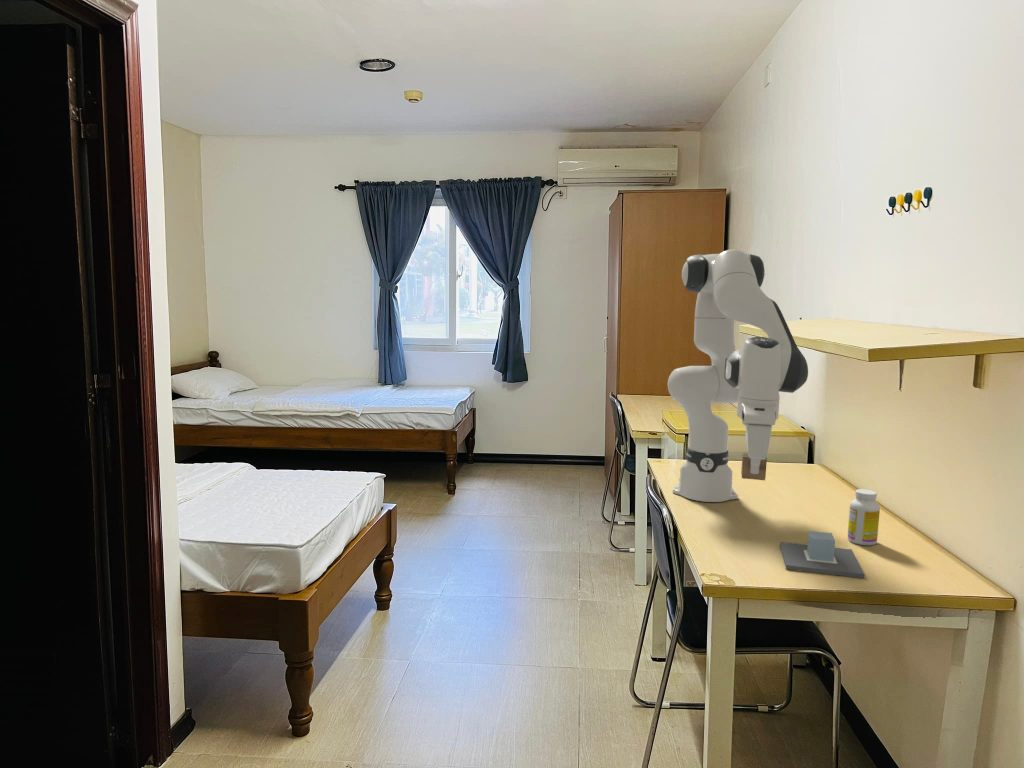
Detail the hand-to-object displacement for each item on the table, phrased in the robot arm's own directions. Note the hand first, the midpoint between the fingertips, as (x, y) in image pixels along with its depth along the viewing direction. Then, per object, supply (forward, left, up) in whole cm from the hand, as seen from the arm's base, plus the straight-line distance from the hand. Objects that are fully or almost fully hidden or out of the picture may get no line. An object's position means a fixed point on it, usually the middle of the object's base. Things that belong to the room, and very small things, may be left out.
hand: (753, 469), depth 163 cm
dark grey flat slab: (-3, +16, -21) cm, 27 cm away
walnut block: (0, 0, -2) cm, 2 cm away
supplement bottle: (-20, +28, -21) cm, 40 cm away
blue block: (-3, +16, -20) cm, 26 cm away
